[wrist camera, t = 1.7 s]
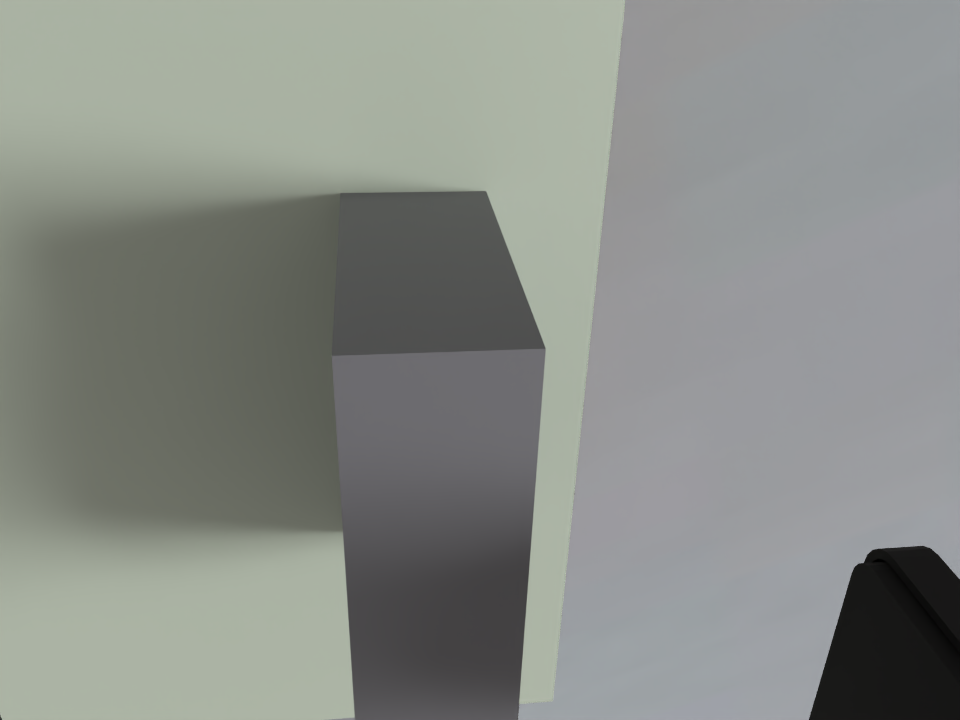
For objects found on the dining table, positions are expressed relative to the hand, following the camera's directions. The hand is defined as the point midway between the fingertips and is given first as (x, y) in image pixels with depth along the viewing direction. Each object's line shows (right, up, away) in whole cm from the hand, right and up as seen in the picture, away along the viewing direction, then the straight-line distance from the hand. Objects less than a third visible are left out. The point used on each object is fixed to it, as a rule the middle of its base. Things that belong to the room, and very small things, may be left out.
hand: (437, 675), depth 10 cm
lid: (-6, +3, +4) cm, 8 cm away
